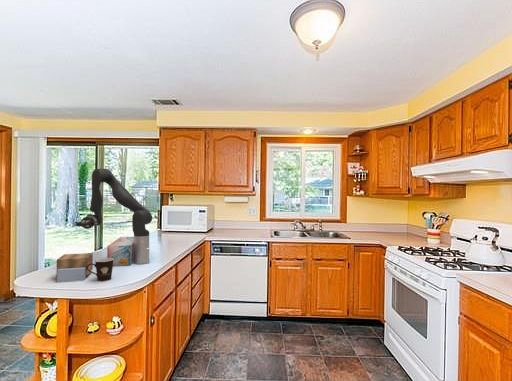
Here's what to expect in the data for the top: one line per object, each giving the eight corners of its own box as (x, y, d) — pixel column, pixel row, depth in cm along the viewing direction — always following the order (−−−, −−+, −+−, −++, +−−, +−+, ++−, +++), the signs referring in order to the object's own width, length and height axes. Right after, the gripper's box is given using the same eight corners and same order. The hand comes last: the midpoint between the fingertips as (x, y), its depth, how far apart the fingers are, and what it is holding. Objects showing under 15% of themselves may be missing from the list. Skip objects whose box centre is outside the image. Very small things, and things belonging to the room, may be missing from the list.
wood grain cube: (92, 268, 177) (92, 253, 177) (87, 275, 164) (87, 258, 164) (64, 270, 173) (64, 254, 173) (56, 277, 160) (56, 259, 160)
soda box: (131, 266, 192) (131, 244, 192) (106, 267, 189) (106, 245, 189) (140, 253, 232) (140, 235, 232) (119, 253, 229) (119, 236, 229)
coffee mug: (116, 277, 167) (116, 258, 167) (109, 281, 158) (109, 261, 158) (93, 277, 166) (94, 258, 166) (85, 281, 158) (85, 261, 158)
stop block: (85, 278, 163) (85, 267, 163) (84, 280, 160) (84, 268, 160) (58, 280, 159) (58, 268, 159) (57, 282, 157) (57, 270, 157)
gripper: (77, 216, 197) (70, 218, 181) (100, 215, 201) (95, 218, 185) (77, 228, 197) (70, 231, 181) (100, 227, 201) (95, 231, 185)
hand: (83, 225), depth 183 cm, fingers closed
